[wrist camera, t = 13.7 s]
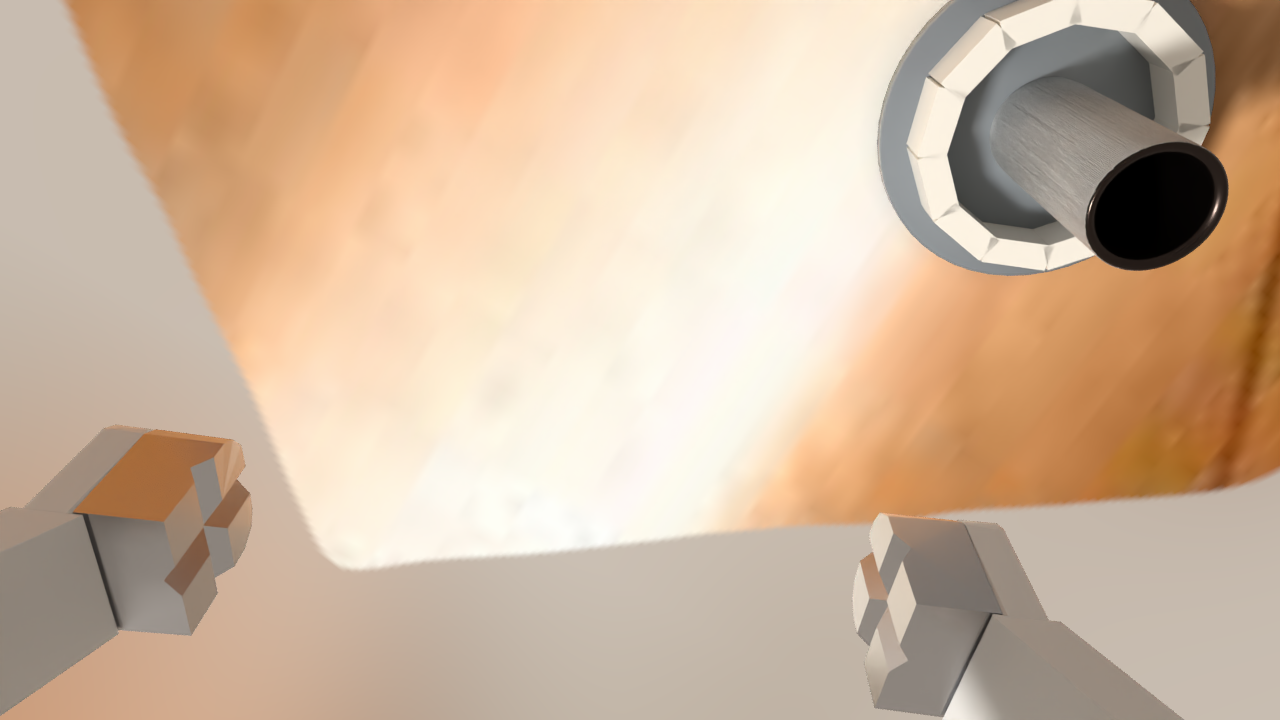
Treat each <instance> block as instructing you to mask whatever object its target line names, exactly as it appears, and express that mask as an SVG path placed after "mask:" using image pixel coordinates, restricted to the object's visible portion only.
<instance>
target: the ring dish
mask: <svg viewBox="0 0 1280 720" xmlns="http://www.w3.org/2000/svg"><path fill="white" fill-rule="evenodd" d="M1047 77H1062V78H1067V79H1070V80H1073V81H1076V82H1078V83H1081V84H1083V85H1085V86H1087V87H1089V88H1091V89H1092V90H1094V91H1096V92H1098V93H1100V94H1102V95H1104V96H1106V97H1108V98H1110V99H1112V100H1114V101H1116V102H1118V103H1120V104H1121V105H1123V106H1125V107H1127V108H1129V109H1131V110H1133V111H1135V112H1137V113H1139V114H1141V115H1143V116H1145V117H1147V118H1149V119H1151V120H1152V121H1154V122H1156V123H1158V124H1160V125H1162V126H1164V127H1166V128H1168V129H1170V130H1172V131H1174V132H1176V133H1178V134H1180V135H1182V136H1183V137H1185V138H1187V139H1189V140H1191V141H1193V142H1195V143H1197V144H1199V145H1202V143H1203V141H1204V138H1205V136H1206V134H1207V132H1208V130H1209V128H1210V127H1209V126H1208V125H1209V124H1210V123H1211V122H1210V117H1211V114H1212V110H1213V102H1214V95H1215V63H1214V56H1213V50H1212V45H1211V42H1210V39H1209V36H1208V33H1207V30H1206V27H1205V25H1204V23H1203V21H1202V19H1201V17H1200V15H1199V13H1198V12H1197V10H1196V8H1195V7H1194V6H1193V4H1192V3H1191V2H1190V0H950V1H949V2H948V3H947V4H945V5H944V6H943V7H942V8H941V9H940V10H939V11H938V12H937V13H936V14H935V15H934V16H933V17H932V18H931V19H930V20H929V21H928V22H927V24H926V25H925V26H924V27H923V29H922V30H921V31H920V32H919V34H918V35H917V36H916V37H915V39H914V40H913V41H912V43H911V44H910V46H909V47H908V49H907V51H906V52H905V54H904V55H903V57H902V59H901V60H900V62H899V64H898V66H897V68H896V70H895V72H894V75H893V77H892V79H891V81H890V83H889V86H888V89H887V92H886V95H885V98H884V101H883V105H882V110H881V115H880V120H879V127H878V140H877V148H878V163H879V168H880V173H881V178H882V182H883V185H884V188H885V191H886V193H887V196H888V199H889V200H890V202H891V204H892V206H893V208H894V210H895V212H896V213H897V215H898V217H899V218H900V220H901V221H902V222H903V224H904V225H905V226H906V228H907V229H908V230H909V232H910V233H911V234H912V235H913V236H914V237H915V238H916V239H917V240H918V241H919V242H920V243H921V244H922V245H923V246H924V247H926V248H927V249H929V250H930V251H931V252H933V253H934V254H936V255H937V256H938V257H940V258H942V259H944V260H946V261H948V262H950V263H952V264H954V265H957V266H960V267H963V268H966V269H968V270H971V271H976V272H981V273H986V274H993V275H1006V276H1014V275H1031V274H1037V273H1044V272H1049V271H1053V270H1057V269H1060V268H1064V267H1068V266H1071V265H1073V264H1076V263H1078V262H1081V261H1084V260H1086V259H1089V258H1091V257H1093V256H1095V254H1094V253H1093V252H1092V251H1090V250H1089V249H1088V248H1087V247H1086V246H1085V245H1084V244H1083V243H1082V242H1081V241H1079V240H1078V239H1077V238H1076V237H1075V236H1074V235H1073V234H1072V233H1071V232H1070V231H1068V230H1067V229H1066V228H1065V227H1064V226H1063V225H1062V224H1061V223H1060V222H1059V221H1058V220H1056V219H1055V218H1054V217H1053V216H1052V215H1051V214H1050V213H1049V212H1048V211H1047V210H1045V209H1044V208H1043V207H1042V206H1041V205H1040V204H1039V203H1038V202H1037V201H1036V200H1034V199H1033V198H1032V197H1031V196H1030V195H1029V194H1028V193H1027V192H1026V191H1025V190H1023V189H1022V188H1021V187H1020V186H1019V185H1018V184H1017V183H1016V182H1015V181H1014V180H1012V179H1011V178H1010V177H1009V176H1008V175H1007V174H1006V173H1005V172H1004V171H1003V170H1002V169H1001V168H1000V166H999V165H998V164H997V163H996V161H995V159H994V157H993V155H992V152H991V148H990V130H991V126H992V123H993V120H994V118H995V115H996V113H997V112H998V110H999V108H1000V107H1001V106H1002V104H1003V103H1004V102H1005V101H1006V99H1007V98H1008V97H1009V96H1010V95H1011V94H1013V93H1014V92H1015V91H1016V90H1018V89H1019V88H1021V87H1022V86H1024V85H1026V84H1028V83H1030V82H1032V81H1035V80H1038V79H1042V78H1047Z"/></svg>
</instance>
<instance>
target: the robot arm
mask: <svg viewBox="0 0 1280 720" xmlns="http://www.w3.org/2000/svg"><path fill="white" fill-rule="evenodd" d="M244 468H245V461H244V456H243V452H242V447H241V445H240V444H239V443H237V442H235V441H234V440H231V439H224V438H216V437H209V436H202V435H194V434H187V433H179V432H172V431H165V430H157V429H156V430H151V429H145V428H137V427H129V426H122V425H113V426H110V427H107V428H104V429H102V430H101V431H100V432H99V433H98V434H97V435H96V436H95V437H94V438H93V439H92V440H91V441H90V442H89V443H88V444H87V445H86V446H85V447H84V448H83V449H82V450H81V451H80V452H79V453H78V454H77V455H76V456H75V457H74V458H73V459H72V460H71V461H70V462H69V463H68V464H67V465H66V466H65V467H64V468H63V469H62V470H61V471H60V472H59V473H58V474H57V475H56V476H55V477H54V478H53V479H52V480H51V481H50V482H49V483H48V484H47V485H46V486H45V487H44V488H43V489H42V490H41V491H40V492H39V493H38V494H37V495H36V496H35V497H34V498H33V499H32V500H31V501H30V502H29V503H28V504H27V505H26V506H25V507H24V508H15V507H9V508H6V509H4V510H1V511H0V716H1V715H2V714H4V713H5V712H6V711H8V710H9V709H11V708H12V707H14V706H15V705H17V704H18V703H19V702H21V701H22V700H24V699H25V698H27V697H28V696H29V695H31V694H33V693H34V692H35V691H37V690H38V689H40V688H41V687H43V686H44V685H46V684H47V683H48V682H50V681H51V680H53V679H54V678H56V677H57V676H58V675H60V674H61V673H63V672H64V671H66V670H67V669H69V668H70V667H71V666H73V665H74V664H76V663H77V662H79V661H80V660H82V659H83V658H84V657H86V656H87V655H89V654H90V653H92V652H93V651H94V650H96V649H97V648H99V647H100V646H101V645H103V644H104V643H106V642H107V641H109V640H110V639H112V638H113V637H115V636H116V635H118V630H126V631H139V632H151V633H164V634H177V635H190V636H191V635H192V634H193V632H194V630H195V629H196V627H197V626H198V624H199V622H200V621H201V619H202V618H203V616H204V614H205V613H206V611H207V610H208V608H209V606H210V605H211V603H212V602H213V600H214V598H215V597H216V595H217V593H218V592H217V587H216V582H215V577H217V576H218V575H220V574H222V573H224V572H226V571H227V570H229V569H231V568H232V567H234V566H235V564H236V563H237V561H238V559H239V558H240V556H241V554H242V553H243V551H244V549H245V546H246V543H247V540H248V536H249V533H250V529H251V526H252V503H251V496H250V493H249V492H248V491H247V490H246V489H245V488H244V487H243V486H242V485H241V484H240V482H239V481H238V480H237V478H238V477H239V475H240V474H241V472H242V471H243V469H244ZM869 538H870V542H871V546H872V550H873V552H872V553H871V554H869V555H868V556H866V557H865V558H864V559H862V560H861V561H860V563H859V566H858V569H857V573H856V576H855V579H854V588H853V598H852V604H853V617H854V622H855V626H856V632H857V634H858V635H859V636H860V637H861V638H862V639H863V640H864V641H865V642H866V643H867V644H868V645H869V646H870V647H869V649H868V652H867V655H866V658H865V660H864V666H865V670H866V674H867V679H868V682H869V687H870V691H871V695H872V699H873V703H874V707H875V708H878V709H887V710H893V711H901V712H908V713H916V714H923V715H931V716H939V717H943V719H942V720H1184V719H1182V718H1181V717H1180V716H1179V715H1177V714H1176V713H1175V712H1174V711H1172V710H1171V709H1170V708H1168V707H1167V706H1166V705H1165V704H1164V703H1162V702H1161V701H1160V700H1158V699H1157V698H1156V697H1155V696H1154V695H1152V694H1151V693H1150V692H1148V691H1147V690H1146V689H1145V688H1143V687H1142V686H1141V685H1140V684H1138V683H1137V682H1136V681H1135V680H1133V679H1132V678H1131V677H1130V676H1128V675H1127V674H1126V673H1125V672H1123V671H1122V670H1121V669H1119V668H1118V667H1117V666H1116V665H1114V664H1113V663H1112V662H1111V661H1109V660H1108V659H1107V658H1106V657H1104V656H1103V655H1102V654H1101V653H1099V652H1098V651H1097V650H1095V649H1094V648H1093V647H1092V646H1091V645H1089V644H1088V643H1087V642H1085V641H1084V640H1083V639H1082V638H1080V637H1079V636H1078V635H1076V634H1075V633H1074V632H1073V631H1072V630H1070V629H1069V628H1068V627H1067V626H1065V625H1064V624H1063V623H1061V622H1057V621H1049V620H1048V618H1047V616H1046V614H1045V612H1044V610H1043V608H1042V606H1041V604H1040V602H1039V600H1038V598H1037V595H1036V594H1035V591H1034V589H1033V587H1032V585H1031V583H1030V581H1029V579H1028V577H1027V575H1026V573H1025V571H1024V569H1023V568H1022V565H1021V563H1020V561H1019V559H1018V557H1017V555H1016V553H1015V551H1014V549H1013V547H1012V545H1011V543H1010V541H1009V539H1008V537H1007V535H1006V533H1005V531H1004V529H1003V528H1001V527H1000V526H999V525H998V524H997V523H986V522H975V521H963V520H957V521H953V520H945V519H935V518H926V517H916V516H907V515H898V514H888V513H880V514H879V515H878V516H877V518H876V519H875V520H874V522H873V525H872V528H871V531H870V534H869Z"/></svg>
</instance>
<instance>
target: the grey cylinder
mask: <svg viewBox="0 0 1280 720" xmlns="http://www.w3.org/2000/svg"><path fill="white" fill-rule="evenodd" d="M990 148H991V152H992V155H993V157H994V159H995V161H996V163H997V164H998V165H999V166H1000V168H1001V169H1002V170H1003V171H1004V172H1005V173H1006V174H1007V175H1008V176H1009V177H1010V178H1011V179H1012V180H1014V181H1015V182H1016V183H1017V184H1018V185H1019V186H1020V187H1021V188H1022V189H1023V190H1025V191H1026V192H1027V193H1028V194H1029V195H1030V196H1031V197H1032V198H1033V199H1034V200H1036V201H1037V202H1038V203H1039V204H1040V205H1041V206H1042V207H1043V208H1044V209H1045V210H1047V211H1048V212H1049V213H1050V214H1051V215H1052V216H1053V217H1054V218H1055V219H1056V220H1058V221H1059V222H1060V223H1061V224H1062V225H1063V226H1064V227H1065V228H1066V229H1067V230H1068V231H1070V232H1071V233H1072V234H1073V235H1074V236H1075V237H1076V238H1077V239H1078V240H1079V241H1081V242H1082V243H1083V244H1084V245H1085V246H1086V247H1087V248H1088V249H1089V250H1090V251H1092V252H1093V253H1094V254H1095V255H1096V256H1097V257H1098V258H1100V259H1101V260H1102V261H1104V262H1105V263H1107V264H1109V265H1111V266H1113V267H1116V268H1119V269H1124V270H1131V271H1143V270H1151V269H1156V268H1159V267H1163V266H1166V265H1169V264H1171V263H1173V262H1175V261H1178V260H1179V259H1181V258H1183V257H1185V256H1186V255H1188V254H1189V253H1191V252H1192V251H1194V250H1195V249H1196V248H1197V247H1198V246H1200V245H1201V244H1202V243H1203V242H1204V241H1205V240H1206V239H1207V238H1208V237H1209V235H1210V234H1211V233H1212V232H1213V230H1214V229H1215V227H1216V226H1217V224H1218V223H1219V221H1220V219H1221V217H1222V215H1223V213H1224V210H1225V207H1226V203H1227V199H1228V179H1227V175H1226V172H1225V169H1224V167H1223V165H1222V163H1221V162H1220V160H1219V159H1218V158H1217V157H1216V156H1215V155H1214V154H1213V153H1212V152H1211V151H1209V150H1208V149H1206V148H1204V147H1203V146H1201V145H1199V144H1197V143H1195V142H1193V141H1191V140H1189V139H1187V138H1185V137H1183V136H1182V135H1180V134H1178V133H1176V132H1174V131H1172V130H1170V129H1168V128H1166V127H1164V126H1162V125H1160V124H1158V123H1156V122H1154V121H1152V120H1151V119H1149V118H1147V117H1145V116H1143V115H1141V114H1139V113H1137V112H1135V111H1133V110H1131V109H1129V108H1127V107H1125V106H1123V105H1121V104H1120V103H1118V102H1116V101H1114V100H1112V99H1110V98H1108V97H1106V96H1104V95H1102V94H1100V93H1098V92H1096V91H1094V90H1092V89H1091V88H1089V87H1087V86H1085V85H1083V84H1081V83H1078V82H1076V81H1073V80H1070V79H1067V78H1062V77H1047V78H1042V79H1038V80H1035V81H1032V82H1030V83H1028V84H1026V85H1024V86H1022V87H1021V88H1019V89H1018V90H1016V91H1015V92H1014V93H1013V94H1011V95H1010V96H1009V97H1008V98H1007V99H1006V101H1005V102H1004V103H1003V104H1002V106H1001V107H1000V108H999V110H998V112H997V113H996V115H995V118H994V120H993V123H992V126H991V130H990Z"/></svg>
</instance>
